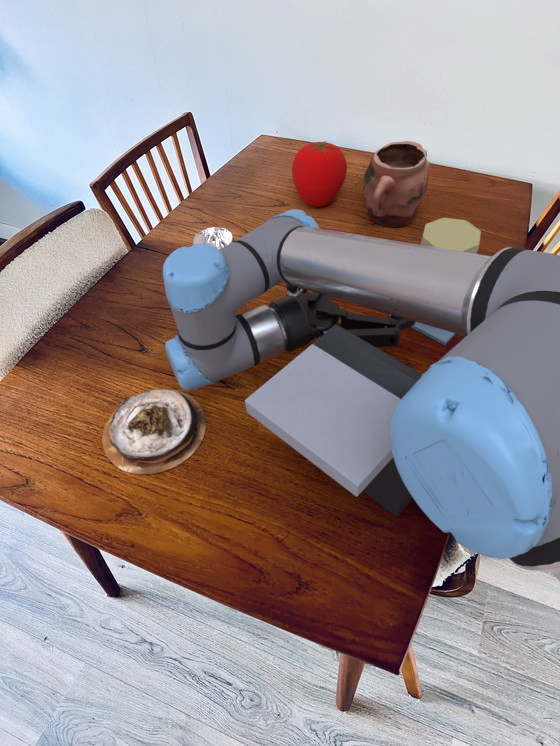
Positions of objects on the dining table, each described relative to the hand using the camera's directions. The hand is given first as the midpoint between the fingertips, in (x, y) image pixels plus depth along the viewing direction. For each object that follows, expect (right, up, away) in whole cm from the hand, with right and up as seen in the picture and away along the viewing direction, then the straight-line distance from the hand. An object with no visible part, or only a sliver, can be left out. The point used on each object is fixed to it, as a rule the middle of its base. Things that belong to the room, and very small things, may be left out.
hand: (402, 279), depth 78 cm
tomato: (-10, +23, +35) cm, 43 cm away
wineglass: (-27, -9, +9) cm, 29 cm away
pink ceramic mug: (+4, +17, +29) cm, 34 cm away
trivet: (+8, -4, +10) cm, 13 cm away
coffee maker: (-11, -30, -11) cm, 34 cm away
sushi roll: (-37, -23, -2) cm, 43 cm away
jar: (+8, -3, +10) cm, 13 cm away
